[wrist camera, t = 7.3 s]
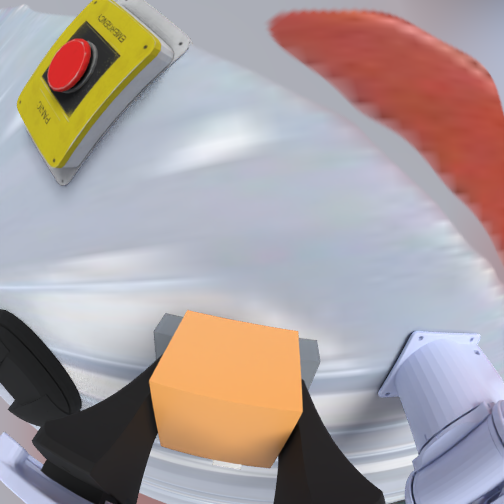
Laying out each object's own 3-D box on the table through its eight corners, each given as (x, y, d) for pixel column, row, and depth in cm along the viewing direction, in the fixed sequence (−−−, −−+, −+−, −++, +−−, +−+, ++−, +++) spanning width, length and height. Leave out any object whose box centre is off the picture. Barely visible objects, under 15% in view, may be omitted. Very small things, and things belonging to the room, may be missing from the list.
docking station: (118, 414, 28) (104, 441, 24) (40, 424, 39) (31, 437, 35) (-1, 269, 22) (-27, 285, 18) (-26, 346, 33) (-37, 357, 29)
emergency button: (176, 20, 10) (31, 200, 14) (198, 46, 14) (68, 189, 18) (107, -29, 8) (-7, 124, 12) (134, -7, 12) (27, 122, 16)
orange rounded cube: (297, 331, 12) (302, 411, 7) (274, 399, 13) (270, 468, 9) (187, 310, 12) (149, 380, 8) (185, 382, 14) (161, 446, 9)
